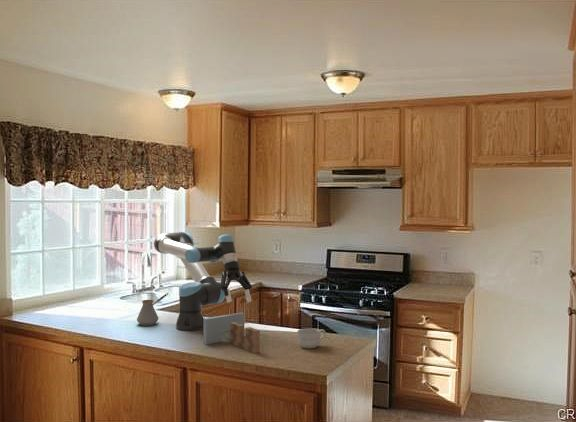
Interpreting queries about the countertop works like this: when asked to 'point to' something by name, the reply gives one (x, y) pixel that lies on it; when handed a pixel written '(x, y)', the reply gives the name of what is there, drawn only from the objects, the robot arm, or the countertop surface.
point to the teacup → (310, 337)
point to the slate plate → (219, 327)
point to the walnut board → (245, 337)
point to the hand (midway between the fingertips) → (239, 302)
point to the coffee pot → (148, 313)
